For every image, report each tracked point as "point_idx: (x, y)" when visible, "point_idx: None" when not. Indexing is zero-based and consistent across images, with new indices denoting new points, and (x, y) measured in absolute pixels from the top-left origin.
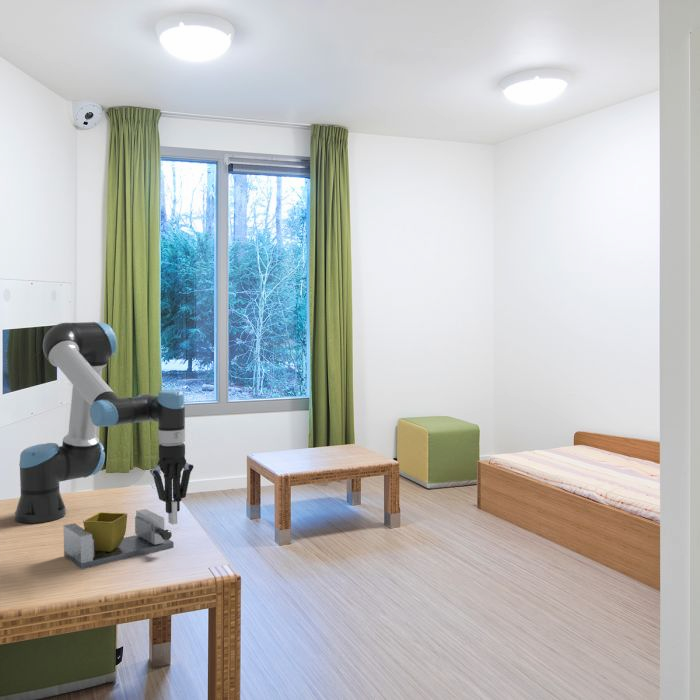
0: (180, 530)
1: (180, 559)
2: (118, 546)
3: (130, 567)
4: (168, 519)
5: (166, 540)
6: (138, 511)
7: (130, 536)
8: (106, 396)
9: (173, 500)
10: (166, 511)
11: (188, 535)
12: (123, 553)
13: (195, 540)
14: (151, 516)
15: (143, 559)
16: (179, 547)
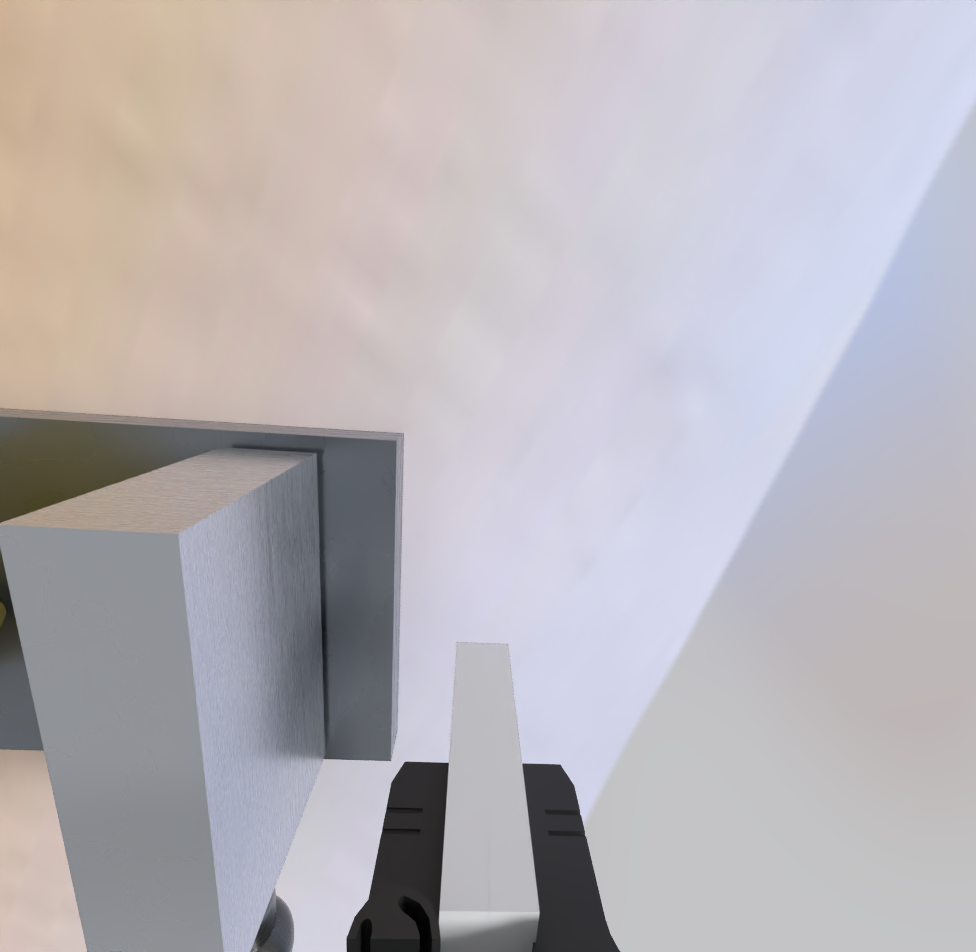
0: (643, 446)
1: (328, 903)
2: (10, 599)
3: (46, 849)
4: (455, 664)
5: (368, 705)
6: (24, 577)
7: (173, 429)
8: None
9: (525, 947)
10: (395, 791)
11: (608, 593)
12: (8, 748)
13: (575, 709)
14: (118, 888)
15: None
16: (424, 753)
